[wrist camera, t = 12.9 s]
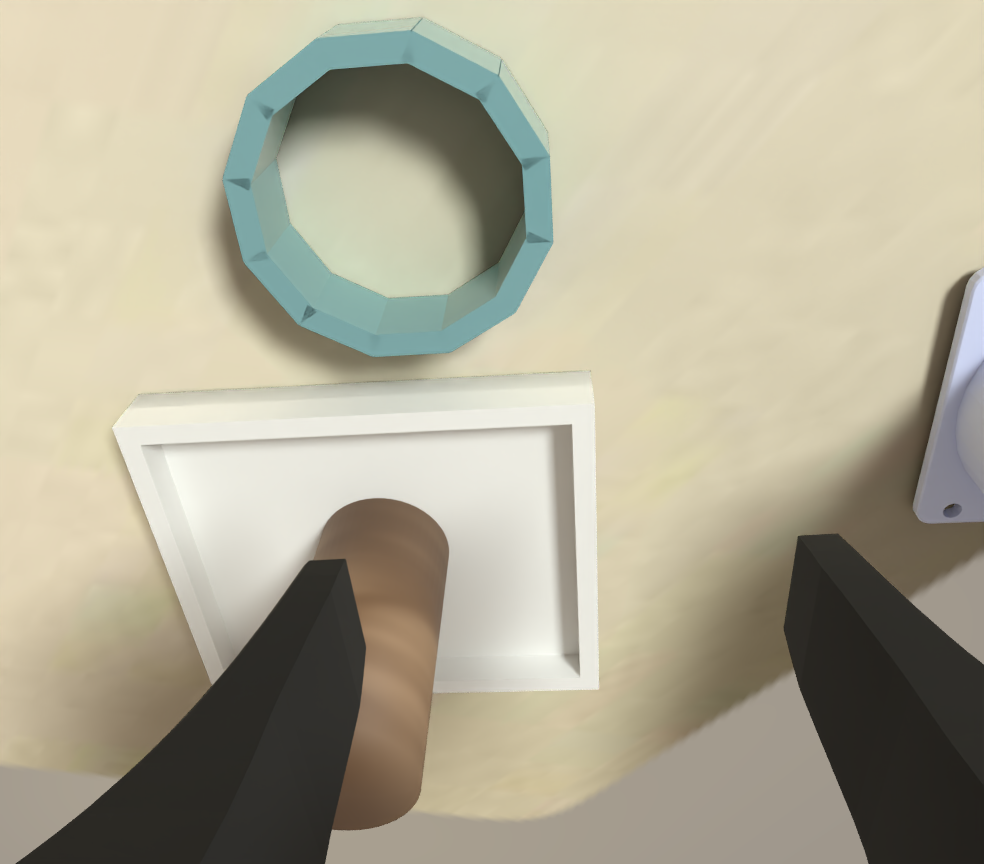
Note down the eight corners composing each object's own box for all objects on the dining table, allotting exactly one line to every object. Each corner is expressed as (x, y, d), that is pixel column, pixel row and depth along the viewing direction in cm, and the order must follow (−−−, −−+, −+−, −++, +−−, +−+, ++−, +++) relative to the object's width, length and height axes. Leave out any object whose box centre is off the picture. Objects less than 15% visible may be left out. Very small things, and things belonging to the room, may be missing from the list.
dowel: (441, 494, 24) (408, 720, 18) (455, 594, 27) (431, 829, 20) (309, 501, 25) (226, 725, 18) (333, 598, 27) (269, 831, 20)
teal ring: (542, 6, 18) (543, 18, 16) (555, 309, 22) (557, 346, 20) (222, 34, 19) (189, 49, 17) (290, 324, 22) (268, 362, 21)
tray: (590, 370, 23) (594, 403, 21) (595, 648, 29) (599, 689, 27) (138, 394, 24) (111, 427, 22) (232, 658, 30) (217, 698, 28)
